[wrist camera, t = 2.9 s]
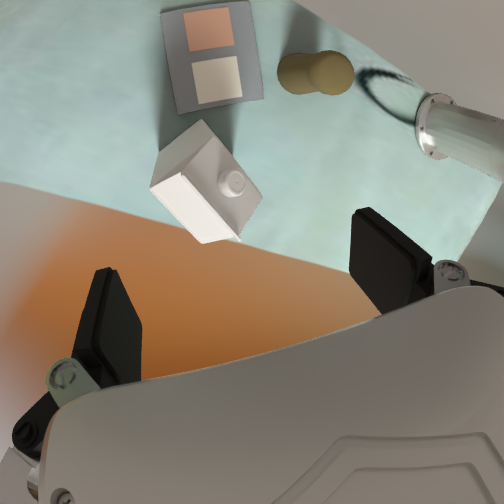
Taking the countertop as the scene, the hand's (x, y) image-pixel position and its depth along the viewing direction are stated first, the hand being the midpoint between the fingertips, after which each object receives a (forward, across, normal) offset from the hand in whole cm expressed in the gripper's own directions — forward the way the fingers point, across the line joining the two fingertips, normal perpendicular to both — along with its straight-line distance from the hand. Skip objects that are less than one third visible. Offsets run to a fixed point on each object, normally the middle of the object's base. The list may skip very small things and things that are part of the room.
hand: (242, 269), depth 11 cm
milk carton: (+30, 0, +2) cm, 30 cm away
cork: (+31, -15, -7) cm, 35 cm away
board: (+30, -4, -11) cm, 32 cm away
